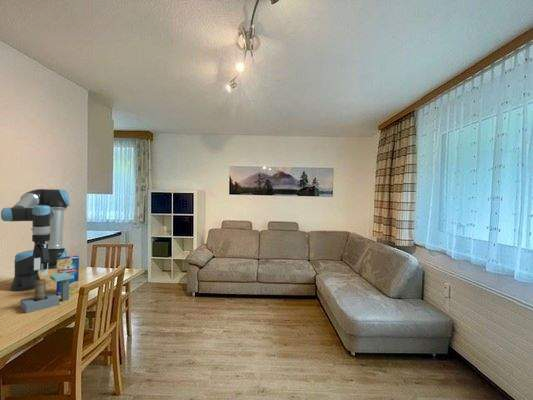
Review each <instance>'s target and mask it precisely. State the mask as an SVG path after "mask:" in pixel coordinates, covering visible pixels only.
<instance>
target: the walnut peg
mask: <svg viewBox="0 0 533 400" xmlns="http://www.w3.org/2000/svg"><path fill="white" fill-rule="evenodd" d="M45 294H46V279H44V278H42V279H41V278H40V280H36V281H35V288H34V296H35V302H36V301H40V300H44V299H45Z"/></svg>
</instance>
